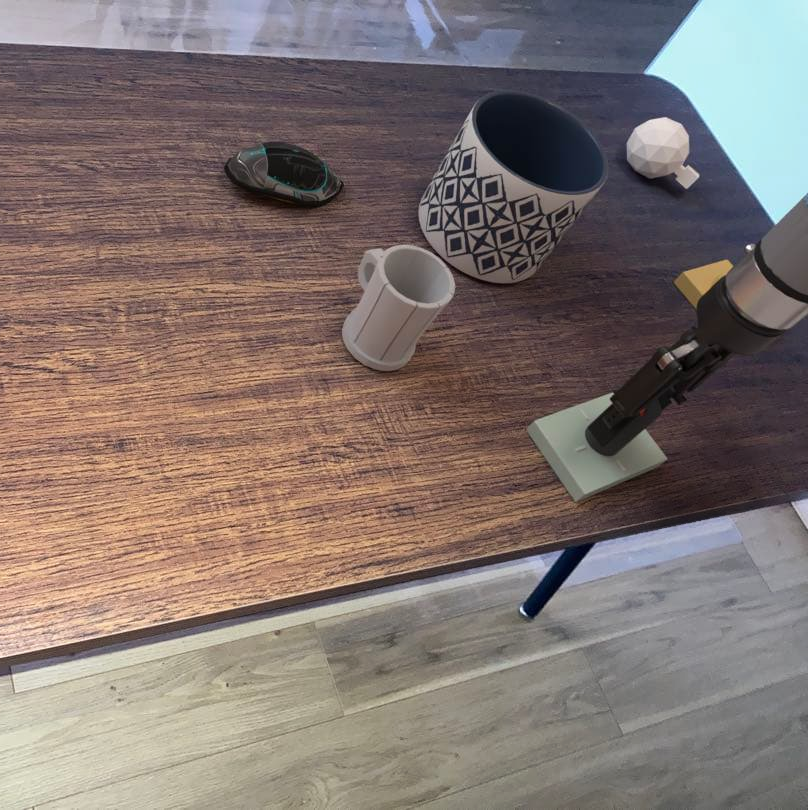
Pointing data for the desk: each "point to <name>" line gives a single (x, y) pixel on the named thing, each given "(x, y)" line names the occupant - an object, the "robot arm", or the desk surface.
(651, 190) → the desk surface
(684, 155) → the perfume bottle
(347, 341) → the cup
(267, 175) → the computer mouse
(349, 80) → the desk surface
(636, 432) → the dial
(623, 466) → the control panel
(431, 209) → the planter
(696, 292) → the power box
